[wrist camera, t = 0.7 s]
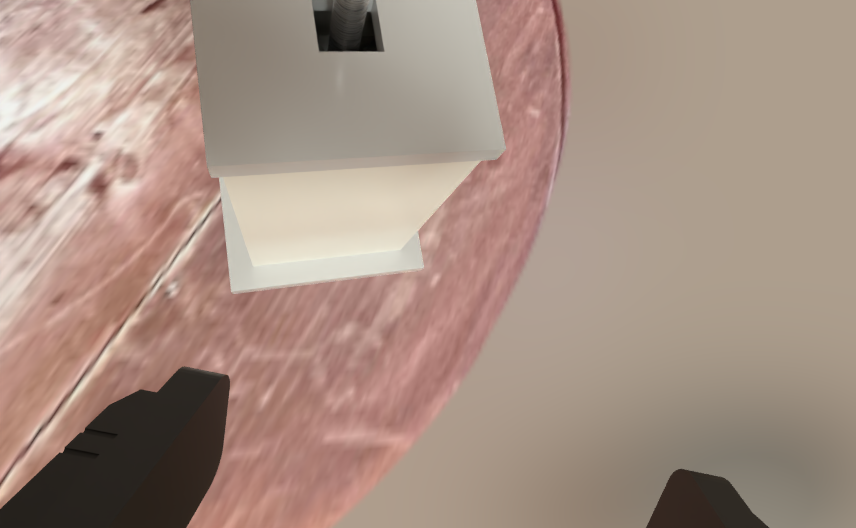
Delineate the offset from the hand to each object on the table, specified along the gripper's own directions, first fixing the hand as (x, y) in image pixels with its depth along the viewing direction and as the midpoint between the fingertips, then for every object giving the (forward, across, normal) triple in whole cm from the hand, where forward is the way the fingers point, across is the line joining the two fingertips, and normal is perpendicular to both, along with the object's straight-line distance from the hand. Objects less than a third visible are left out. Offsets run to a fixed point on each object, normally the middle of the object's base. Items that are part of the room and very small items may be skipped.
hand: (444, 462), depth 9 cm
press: (+29, +8, +3) cm, 30 cm away
